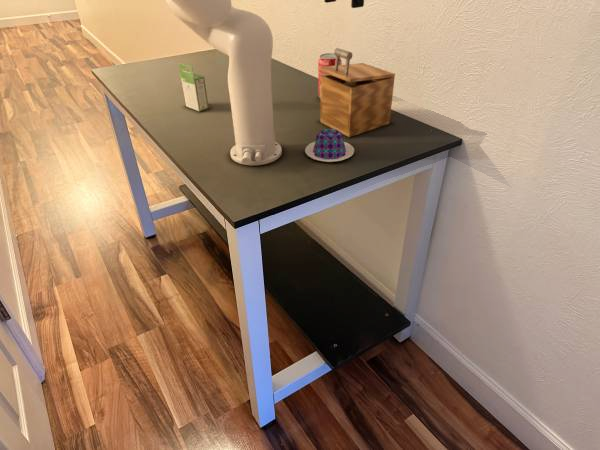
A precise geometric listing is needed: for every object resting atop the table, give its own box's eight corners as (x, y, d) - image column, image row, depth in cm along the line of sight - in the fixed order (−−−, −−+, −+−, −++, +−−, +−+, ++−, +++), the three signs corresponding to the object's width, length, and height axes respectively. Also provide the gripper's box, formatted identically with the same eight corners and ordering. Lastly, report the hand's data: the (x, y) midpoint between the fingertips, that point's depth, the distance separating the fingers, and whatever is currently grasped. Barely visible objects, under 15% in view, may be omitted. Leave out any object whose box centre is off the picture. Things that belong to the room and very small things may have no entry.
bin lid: (349, 82, 100) (353, 56, 97) (318, 70, 109) (320, 45, 105) (394, 76, 108) (399, 52, 105) (362, 65, 116) (365, 42, 113)
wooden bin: (349, 137, 109) (351, 88, 102) (320, 122, 118) (320, 76, 110) (389, 123, 116) (394, 77, 108) (359, 110, 124) (362, 66, 116)
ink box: (209, 108, 128) (202, 63, 120) (199, 112, 126) (191, 66, 118) (196, 103, 132) (188, 59, 124) (185, 106, 129) (177, 62, 121)
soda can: (339, 102, 129) (340, 59, 122) (316, 101, 131) (316, 58, 123) (342, 95, 135) (343, 52, 127) (320, 93, 136) (320, 52, 128)
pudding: (351, 141, 107) (352, 122, 104) (356, 163, 97) (357, 143, 94) (304, 142, 107) (304, 123, 104) (305, 165, 98) (305, 144, 94)
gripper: (307, -87, 90) (308, 1, 100) (361, -89, 78) (355, 11, 89) (334, -88, 93) (332, -2, 104) (389, -90, 82) (381, 7, 92)
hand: (343, 4), depth 96 cm, fingers open, 9 cm apart
